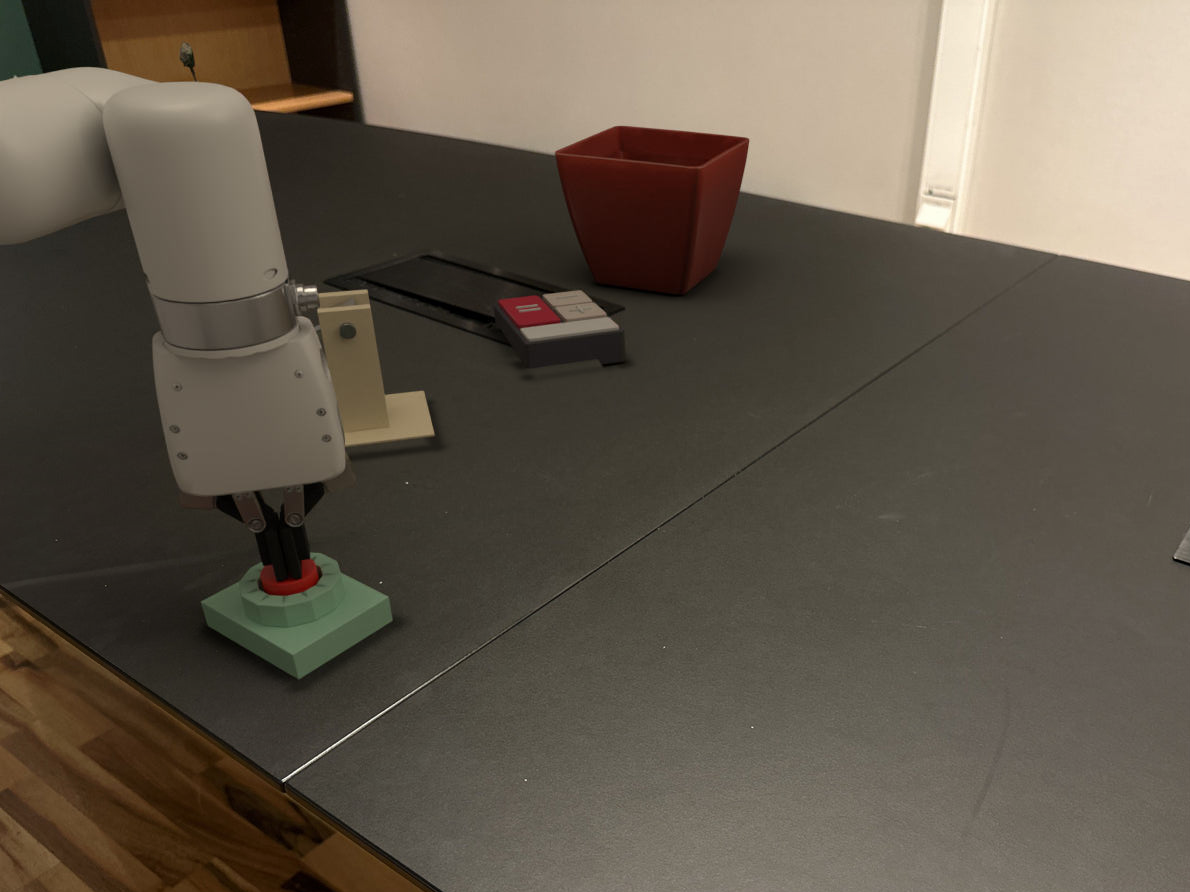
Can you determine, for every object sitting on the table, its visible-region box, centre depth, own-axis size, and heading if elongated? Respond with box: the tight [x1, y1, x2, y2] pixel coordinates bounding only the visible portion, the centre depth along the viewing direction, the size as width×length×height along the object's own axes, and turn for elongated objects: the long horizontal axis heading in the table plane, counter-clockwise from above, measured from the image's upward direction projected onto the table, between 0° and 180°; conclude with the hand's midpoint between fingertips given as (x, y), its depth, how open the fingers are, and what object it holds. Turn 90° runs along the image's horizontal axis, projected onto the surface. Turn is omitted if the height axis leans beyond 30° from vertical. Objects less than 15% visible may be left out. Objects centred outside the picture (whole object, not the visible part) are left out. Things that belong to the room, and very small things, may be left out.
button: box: [260, 559, 319, 596], centre depth 72 cm, size 4×4×2 cm
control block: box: [200, 551, 394, 680], centre depth 73 cm, size 10×8×4 cm
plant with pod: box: [178, 41, 198, 82], centre depth 175 cm, size 8×11×20 cm
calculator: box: [493, 289, 626, 369], centre depth 118 cm, size 11×4×15 cm
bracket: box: [316, 289, 436, 448], centre depth 96 cm, size 12×10×13 cm
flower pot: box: [554, 125, 750, 295], centre depth 135 cm, size 19×19×17 cm
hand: (289, 568), depth 72 cm, fingers closed
